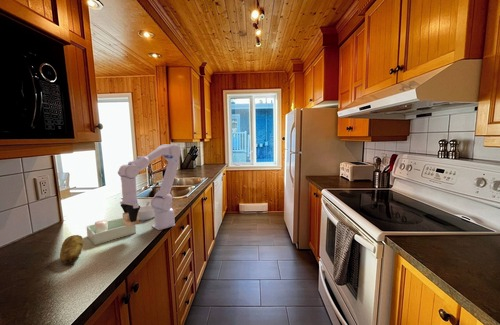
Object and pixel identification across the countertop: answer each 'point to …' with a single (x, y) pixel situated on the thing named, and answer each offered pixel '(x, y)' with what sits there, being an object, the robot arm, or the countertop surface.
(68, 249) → the potato
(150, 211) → the saucepan
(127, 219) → the maple cube
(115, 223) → the tote
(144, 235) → the countertop surface
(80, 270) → the countertop surface
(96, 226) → the pale pink egg
